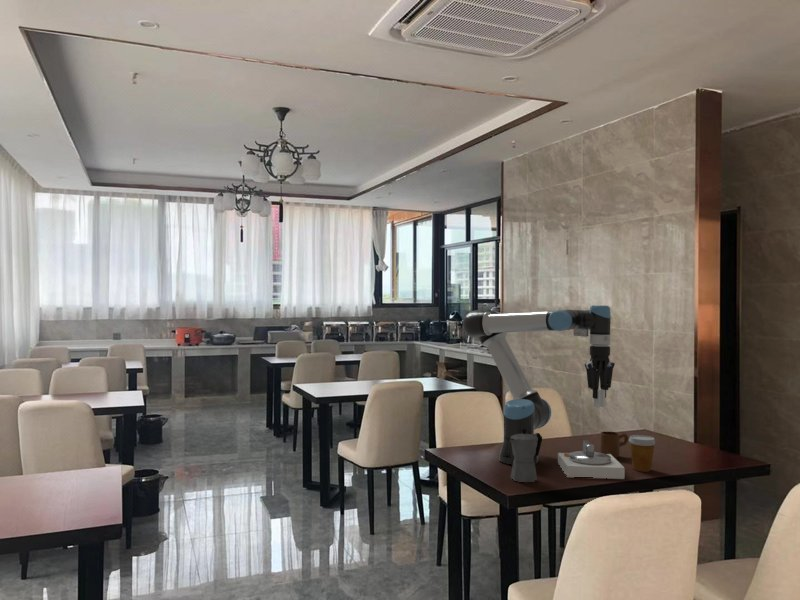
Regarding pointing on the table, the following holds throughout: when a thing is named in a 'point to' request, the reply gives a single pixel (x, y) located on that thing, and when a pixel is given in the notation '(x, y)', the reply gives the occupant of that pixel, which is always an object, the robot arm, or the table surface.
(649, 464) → the disposable coffee cup
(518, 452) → the coffeepot
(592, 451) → the dial
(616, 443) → the mug
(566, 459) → the dial housing
